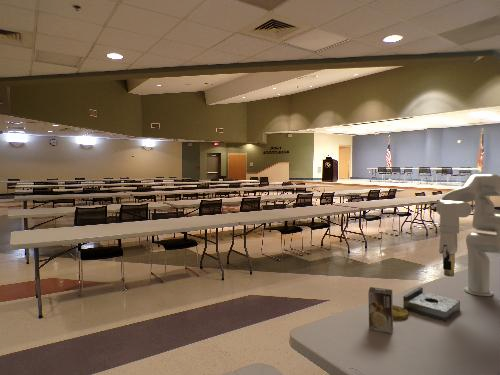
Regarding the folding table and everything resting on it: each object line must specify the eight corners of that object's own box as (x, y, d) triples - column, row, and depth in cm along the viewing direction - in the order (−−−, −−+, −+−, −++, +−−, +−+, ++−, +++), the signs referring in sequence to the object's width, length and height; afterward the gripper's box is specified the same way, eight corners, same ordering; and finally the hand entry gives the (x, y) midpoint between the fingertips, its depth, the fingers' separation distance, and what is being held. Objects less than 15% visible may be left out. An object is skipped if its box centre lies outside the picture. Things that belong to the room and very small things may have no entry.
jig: (419, 299, 167) (419, 286, 167) (459, 310, 154) (460, 296, 153) (403, 309, 155) (403, 296, 155) (445, 322, 142) (445, 307, 141)
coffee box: (393, 327, 138) (393, 289, 138) (392, 334, 133) (392, 294, 132) (370, 323, 143) (370, 286, 142) (368, 329, 137) (368, 291, 136)
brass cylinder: (445, 273, 156) (445, 252, 155) (455, 275, 153) (455, 253, 152) (442, 275, 153) (442, 253, 153) (452, 277, 150) (452, 255, 150)
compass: (388, 307, 159) (388, 302, 159) (413, 315, 150) (413, 310, 150) (374, 314, 152) (374, 309, 152) (398, 323, 143) (398, 318, 142)
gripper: (446, 226, 160) (446, 263, 161) (433, 230, 149) (433, 270, 150) (464, 228, 155) (463, 266, 156) (452, 232, 144) (452, 274, 144)
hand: (448, 268), depth 153 cm, fingers closed on brass cylinder, 4 cm apart
